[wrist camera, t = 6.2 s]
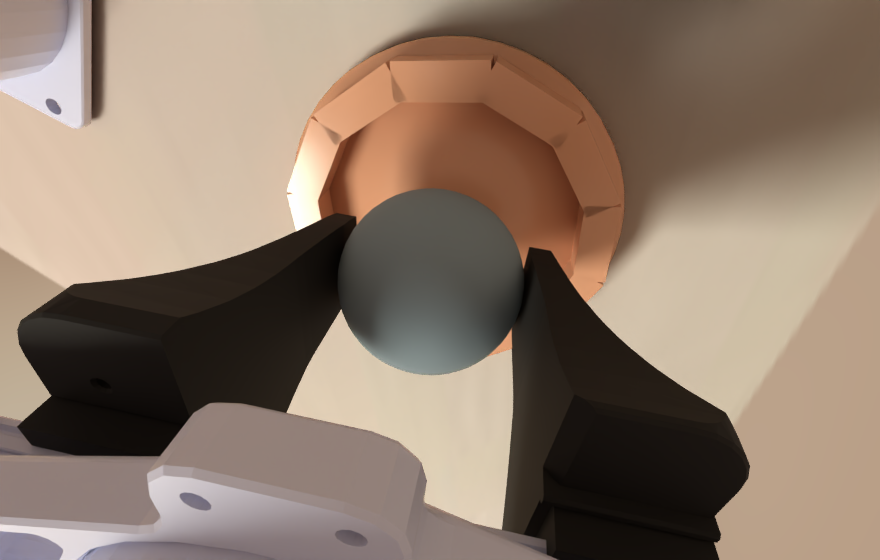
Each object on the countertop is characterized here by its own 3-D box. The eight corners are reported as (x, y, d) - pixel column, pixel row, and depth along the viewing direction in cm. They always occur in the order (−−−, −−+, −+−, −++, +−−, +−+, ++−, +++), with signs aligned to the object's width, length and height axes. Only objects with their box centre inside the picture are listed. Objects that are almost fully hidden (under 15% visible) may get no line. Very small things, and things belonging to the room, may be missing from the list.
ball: (348, 255, 15) (281, 359, 11) (409, 128, 12) (349, 203, 8) (473, 321, 16) (453, 440, 12) (558, 215, 13) (572, 326, 9)
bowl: (268, 252, 17) (247, 274, 16) (369, -53, 11) (348, -57, 10) (500, 372, 19) (498, 401, 18) (703, 165, 13) (723, 186, 11)
